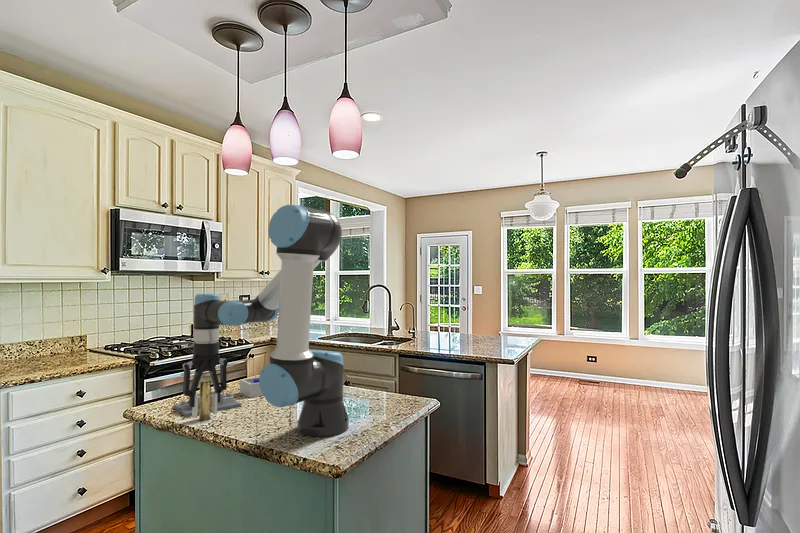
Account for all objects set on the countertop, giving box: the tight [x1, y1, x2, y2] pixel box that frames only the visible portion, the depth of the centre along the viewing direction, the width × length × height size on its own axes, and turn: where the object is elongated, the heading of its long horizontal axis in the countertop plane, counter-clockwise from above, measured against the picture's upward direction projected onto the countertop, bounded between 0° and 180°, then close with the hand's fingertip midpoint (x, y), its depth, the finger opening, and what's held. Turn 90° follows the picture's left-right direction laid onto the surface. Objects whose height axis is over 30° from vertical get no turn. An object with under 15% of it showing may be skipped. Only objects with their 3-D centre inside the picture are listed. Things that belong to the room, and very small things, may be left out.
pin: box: [198, 379, 212, 422], centre depth 137 cm, size 3×3×12 cm
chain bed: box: [173, 389, 242, 418], centre depth 150 cm, size 14×18×4 cm
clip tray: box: [239, 376, 263, 398], centre depth 171 cm, size 10×18×5 cm, turn 132°
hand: (204, 414), depth 137 cm, fingers open, 5 cm apart
